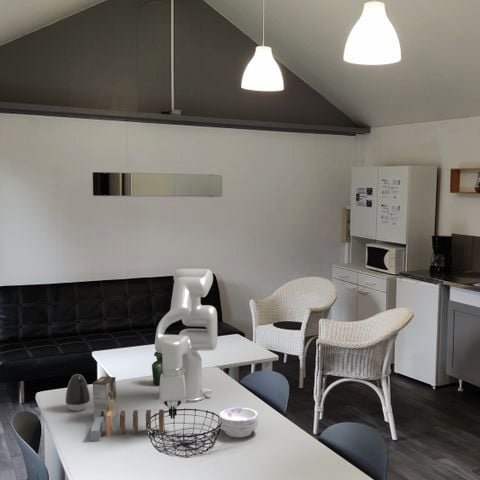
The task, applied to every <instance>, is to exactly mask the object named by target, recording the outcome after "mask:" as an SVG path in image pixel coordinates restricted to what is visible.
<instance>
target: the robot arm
mask: <svg viewBox="0 0 480 480" xmlns="http://www.w3.org/2000/svg"><path fill="white" fill-rule="evenodd" d="M173 281H174V283H173V287H172V295H171V302H170V303H171V304H170V310H169V311H168V312H167V313H166V314H165V315H164V316H163V317H162V318H161V320H160V321H159V323H158V325H157V327H156V333H155V340H154V348H155V352H158V353H162V357H163V374H161V377H160V386H159V393H158V394H159V395H158V396H159V399H158V404H162V405H164V406H166V407H167V408H168V417H170V419H176V417H175V416H177V408H178V407H179V406H180V405H181V404H185V403H187V402H189V403H191V402H192V403H193V402H199V401H202V400H204V399H205V398H206V394H207V395H211V394H213V390H212V388H211V389H210V388H204V387H203V383H202V382H203V381H202V380H203V377H202V376H203V374H202V373H203V364H202V363H203V362H202V361H203V360H202V357H201V355H200V353H199V352H198V351H206V352H207V351H215V350H216V349H217V345H218V312H217V309H216V307H214V306H213V305H207V304H205V305H203V304H201V298H205V297H206V296H207V295H208V293H209V291H210V290H211V287H212V285H213V281H214V274H213V272H212V271H211V269H208V268H188V267H187V268H178V269H175V270H174V271H173ZM178 321H181V322H182V324H183V325H184V326H187V327H204V328H205V329H204V328H184V329H182V330H181V331H179V333H178V334H165V332H166V330H167V328H168V327H169V326H170V325H172V324H173V323H174V324H175V323H176V322H178ZM172 402H174V403H173V405H172Z"/></svg>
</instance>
